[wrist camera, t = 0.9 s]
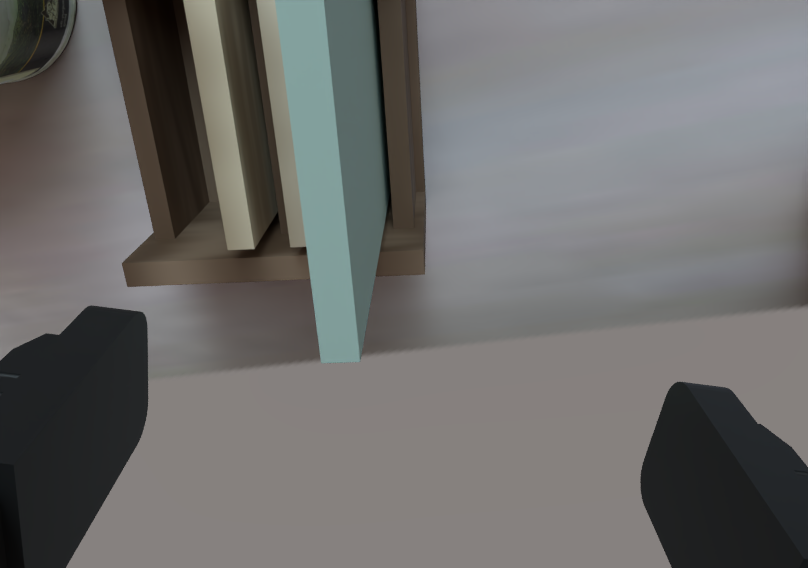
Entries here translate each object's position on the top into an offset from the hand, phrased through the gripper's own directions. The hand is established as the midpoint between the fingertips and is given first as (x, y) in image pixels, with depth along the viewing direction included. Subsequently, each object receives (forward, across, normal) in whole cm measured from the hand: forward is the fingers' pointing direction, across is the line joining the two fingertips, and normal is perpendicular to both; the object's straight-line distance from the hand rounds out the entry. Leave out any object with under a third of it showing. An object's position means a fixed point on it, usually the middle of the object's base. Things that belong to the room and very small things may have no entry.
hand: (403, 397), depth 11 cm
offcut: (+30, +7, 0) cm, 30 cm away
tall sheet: (+29, +2, -1) cm, 29 cm away
